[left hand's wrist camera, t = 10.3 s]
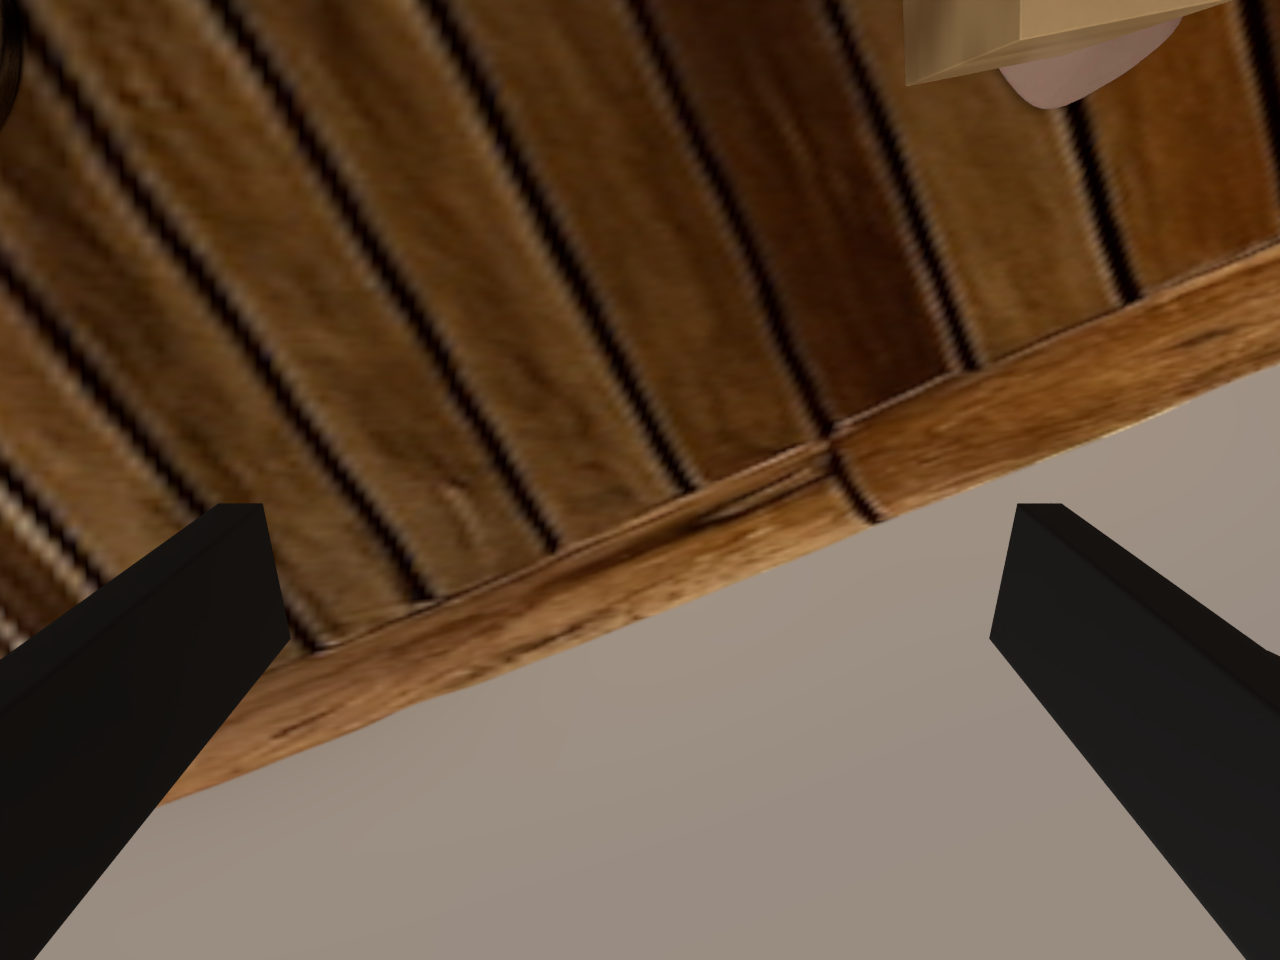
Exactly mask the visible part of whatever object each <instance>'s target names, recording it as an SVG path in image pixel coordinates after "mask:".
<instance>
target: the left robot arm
mask: <svg viewBox="0 0 1280 960" xmlns="http://www.w3.org/2000/svg"><path fill="white" fill-rule="evenodd" d="M18 72H19V36H18V26H17V21H16V15H15V9H14V5H13V1H12V0H0V129H1V127H2V125H3V124H4V122H5V119H6V117H7V115H8V113H9V111H10V108H11V105H12V102H13V99H14V95H15V91H16V86H17V81H18ZM290 639H291V638H290V633H289V628H288V623H287V618H286V614H285V609H284V604H283V599H282V594H281V590H280V585H279V580H278V575H277V570H276V566H275V561H274V556H273V551H272V546H271V542H270V537H269V532H268V527H267V522H266V518H265V513H264V508H263V504H217V505H216V506H214V507H213V508H212V509H210V510H209V511H207V512H206V513H205V514H203V515H202V516H200V517H199V518H198V519H196V520H195V521H193V522H192V523H191V524H189V525H188V526H186V527H185V528H184V529H182V530H181V531H179V532H178V533H177V534H175V535H174V536H172V537H171V538H170V539H168V540H167V541H166V542H164V543H163V544H161V545H160V546H159V547H157V548H156V549H154V550H153V551H152V552H150V553H149V554H147V555H146V556H145V557H143V558H142V559H140V560H139V561H138V562H136V563H135V564H133V565H132V566H131V567H129V568H128V569H126V570H125V571H124V572H122V573H121V574H119V575H118V576H117V577H115V578H114V579H112V580H111V581H110V582H108V583H107V584H105V585H104V586H103V587H101V588H100V589H98V590H97V591H96V592H94V593H93V594H92V595H90V596H89V597H87V598H86V599H85V600H83V601H82V602H80V603H79V604H78V605H76V606H75V607H73V608H72V609H71V610H69V611H68V612H66V613H65V614H64V615H62V616H61V617H59V618H58V619H57V620H55V621H54V622H52V623H51V624H50V625H48V626H47V627H45V628H44V629H43V630H41V631H40V632H38V633H37V634H36V635H34V636H33V637H31V638H30V639H29V640H27V641H26V642H24V643H23V644H22V645H20V646H19V647H17V648H16V649H15V650H13V651H12V652H11V653H9V654H8V655H6V656H5V657H4V658H2V659H0V960H34V959H35V958H36V956H37V955H38V954H39V953H40V951H41V950H42V949H43V948H44V946H45V945H46V944H47V943H48V941H49V940H50V939H51V938H52V936H53V935H54V934H55V933H56V931H57V930H58V929H59V928H60V926H61V925H62V924H63V923H64V921H65V920H66V919H67V918H68V916H69V915H70V914H71V913H72V911H73V910H74V909H75V908H76V906H77V905H78V904H79V903H80V901H81V900H82V899H83V898H84V896H85V895H86V894H87V893H88V891H89V890H90V889H91V888H92V886H93V885H94V884H95V883H96V881H97V880H98V879H99V878H100V876H101V875H102V874H103V873H104V871H105V870H106V869H107V868H108V866H109V865H110V864H111V863H112V861H113V860H114V859H115V858H116V856H117V855H118V854H119V853H120V851H121V850H122V849H123V848H124V846H125V845H126V844H127V843H128V841H129V840H130V839H131V838H132V836H133V835H134V834H135V833H136V831H137V830H138V829H139V828H140V826H141V825H142V824H143V823H144V821H145V820H146V819H147V818H148V816H149V815H150V814H151V813H152V811H153V810H154V809H155V808H156V806H157V805H158V804H159V803H160V801H161V800H162V799H163V798H164V796H165V795H166V794H167V793H168V791H169V790H170V789H171V788H172V786H173V785H174V784H175V783H176V781H177V780H178V779H179V778H180V776H181V775H182V774H183V773H184V771H185V770H186V769H187V768H188V766H189V765H190V764H191V763H192V761H193V760H194V759H195V758H196V756H197V755H198V754H199V753H200V751H201V750H202V749H203V748H204V746H205V745H206V744H207V743H208V741H209V740H210V739H211V738H212V736H213V735H214V734H215V733H216V731H217V730H218V729H219V728H220V726H221V725H222V724H223V723H224V721H225V720H226V719H227V718H228V716H229V715H230V714H231V713H232V711H233V710H234V709H235V708H236V706H237V705H238V704H239V703H240V701H241V700H242V699H243V698H244V696H245V695H246V694H247V693H248V691H249V690H250V689H251V688H252V686H253V685H254V684H255V683H256V681H257V680H258V679H259V678H260V676H261V675H262V674H263V673H264V671H265V670H266V669H267V668H268V666H269V665H270V664H271V663H272V661H273V660H274V659H275V658H276V656H277V655H278V654H279V653H280V651H281V650H282V649H283V648H284V646H285V645H286V644H287V642H288V641H289V640H290ZM989 639H990V640H991V641H992V643H993V644H994V645H995V646H996V648H997V649H998V650H999V651H1000V652H1001V654H1002V655H1003V656H1004V658H1005V659H1006V660H1007V661H1008V662H1009V664H1010V665H1011V666H1012V668H1013V669H1014V670H1015V671H1016V672H1017V674H1018V675H1019V676H1020V678H1021V679H1022V680H1023V681H1024V683H1025V684H1026V685H1027V686H1028V687H1029V689H1030V690H1031V691H1032V693H1033V694H1034V695H1035V696H1036V697H1037V699H1038V700H1039V701H1040V702H1041V704H1042V705H1043V706H1044V708H1045V709H1046V710H1047V711H1048V713H1049V714H1050V715H1051V716H1052V717H1053V719H1054V720H1055V721H1056V723H1057V724H1058V725H1059V726H1060V728H1061V729H1062V730H1063V731H1064V733H1065V734H1066V735H1067V736H1068V738H1069V739H1070V740H1071V741H1072V743H1073V744H1074V745H1075V746H1076V748H1077V749H1078V750H1079V751H1080V753H1081V754H1082V755H1083V756H1084V758H1085V759H1086V760H1087V761H1088V763H1089V764H1090V765H1091V766H1092V767H1093V769H1094V770H1095V771H1096V773H1097V774H1098V775H1099V776H1100V778H1101V779H1102V780H1103V781H1104V783H1105V784H1106V785H1107V786H1108V788H1109V789H1110V790H1111V791H1112V793H1113V794H1114V795H1115V796H1116V797H1117V799H1118V800H1119V801H1120V803H1121V804H1122V805H1123V806H1124V808H1125V809H1126V810H1127V811H1128V813H1129V814H1130V815H1131V816H1132V818H1133V819H1134V820H1135V821H1136V823H1137V824H1138V825H1139V826H1140V828H1141V829H1142V830H1143V831H1144V832H1145V834H1146V835H1147V836H1148V838H1149V839H1150V840H1151V841H1152V843H1153V844H1154V845H1155V846H1156V848H1157V849H1158V850H1159V851H1160V853H1161V854H1162V855H1163V856H1164V858H1165V859H1166V860H1167V861H1168V863H1169V864H1170V865H1171V866H1172V868H1173V869H1174V870H1175V871H1176V873H1177V874H1178V875H1179V876H1180V878H1181V879H1182V880H1183V881H1184V883H1185V884H1186V885H1187V886H1188V888H1189V889H1190V890H1191V891H1192V893H1193V894H1194V895H1195V896H1196V898H1197V899H1198V900H1199V901H1200V903H1201V904H1202V905H1203V906H1204V908H1205V909H1206V910H1207V911H1208V913H1209V914H1210V915H1211V916H1212V918H1213V919H1214V920H1215V921H1216V923H1217V924H1218V925H1219V926H1220V928H1221V929H1222V930H1223V931H1224V933H1225V934H1226V935H1227V936H1228V938H1229V939H1230V940H1231V941H1232V943H1233V944H1234V945H1235V946H1236V948H1237V949H1238V950H1239V951H1240V953H1241V954H1242V955H1243V956H1244V958H1245V959H1246V960H1280V656H1278V655H1276V654H1274V653H1272V652H1270V651H1267V650H1265V649H1264V648H1262V647H1261V646H1260V645H1258V644H1257V643H1256V642H1254V641H1253V640H1251V639H1250V638H1249V637H1247V636H1246V635H1244V634H1243V633H1242V632H1240V631H1239V630H1237V629H1236V628H1235V627H1233V626H1232V625H1230V624H1229V623H1227V622H1226V621H1225V620H1223V619H1222V618H1221V617H1219V616H1218V615H1216V614H1215V613H1214V612H1212V611H1211V610H1209V609H1208V608H1207V607H1205V606H1204V605H1202V604H1201V603H1200V602H1198V601H1197V600H1195V599H1194V598H1193V597H1191V596H1190V595H1188V594H1187V593H1186V592H1184V591H1183V590H1181V589H1180V588H1179V587H1177V586H1176V585H1174V584H1173V583H1172V582H1170V581H1169V580H1168V579H1166V578H1165V577H1163V576H1162V575H1160V574H1159V573H1158V572H1156V571H1155V570H1154V569H1152V568H1151V567H1149V566H1148V565H1147V564H1145V563H1144V562H1142V561H1141V560H1140V559H1138V558H1137V557H1135V556H1134V555H1133V554H1131V553H1130V552H1128V551H1127V550H1126V549H1124V548H1123V547H1121V546H1120V545H1119V544H1117V543H1116V542H1114V541H1113V540H1112V539H1110V538H1109V537H1108V536H1106V535H1105V534H1103V533H1102V532H1101V531H1099V530H1098V529H1096V528H1095V527H1093V526H1092V525H1091V524H1089V523H1088V522H1086V521H1085V520H1084V519H1082V518H1081V517H1080V516H1078V515H1077V514H1075V513H1074V512H1073V511H1071V510H1070V509H1068V508H1067V507H1065V506H1064V505H1063V504H1017V508H1016V513H1015V517H1014V522H1013V527H1012V532H1011V537H1010V542H1009V547H1008V551H1007V556H1006V561H1005V566H1004V570H1003V575H1002V580H1001V585H1000V590H999V595H998V599H997V604H996V609H995V614H994V618H993V623H992V628H991V633H990V638H989Z"/></svg>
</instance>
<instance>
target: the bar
mask: <svg viewBox="0 0 1280 960" xmlns="http://www.w3.org/2000/svg"><path fill="white" fill-rule="evenodd" d="M1228 1H1231V0H903V19H904V48H905V76H906V86H911V85H916V84H921V83H926V82H931V81H936V80H941V79H946V78H951V77H956V76H961V75H967V74H972V73H977V72H982V71H987V70H992V69H997V68H1002V67H1007V66H1012V65H1017V64H1022V63H1027V62H1032V61H1037V60H1043V59H1048V58H1053V57H1058V56H1063V55H1066V54H1069V53H1072V52H1075V51H1078V50H1081V49H1084V48H1087V47H1090V46H1093V45H1096V44H1099V43H1102V42H1106V41H1109V40H1112V39H1115V38H1118V37H1121V36H1124V35H1127V34H1130V33H1133V32H1136V31H1139V30H1142V29H1145V28H1149V27H1152V26H1155V25H1158V24H1161V23H1164V22H1167V21H1170V20H1173V19H1176V18H1179V17H1182V16H1185V15H1188V14H1192V13H1195V12H1198V11H1201V10H1204V9H1207V8H1210V7H1213V6H1216V5H1219V4H1222V3H1225V2H1228Z"/></svg>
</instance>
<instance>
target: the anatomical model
mask: <svg viewBox="0 0 1280 960" xmlns="http://www.w3.org/2000/svg"><path fill="white" fill-rule="evenodd" d="M1182 17H1183V16H1182ZM1182 17H1179V18H1176V19H1173V20H1170V21H1167V22H1164V23H1161V24H1158V25H1155V26H1152V27H1149V28H1145V29H1142V30H1139V31H1136V32H1133V33H1130V34H1127V35H1124V36H1121V37H1118V38H1115V39H1112V40H1109V41H1106V42H1102V43H1099V44H1096V45H1093V46H1090V47H1087V48H1084V49H1081V50H1078V51H1075V52H1072V53H1069V54H1066V55H1063V56H1058V57H1053V58H1048V59H1043V60H1037V61H1032V62H1027V63H1022V64H1017V65H1012V66H1007V67H1002V68H999V69H1000V71H1001V72H1002V74H1003V75H1004V77H1005V78H1006V80H1007V81H1008V82H1009V83H1010V85H1011V86H1012V87H1013V88H1014V89H1015V91H1016V92H1017V93H1018V94H1019V95H1020V96H1021V97H1022V98H1023V99H1024V100H1025V101H1027V102H1029V103H1030V104H1032V105H1033V106H1036V107H1038V108H1042V109H1054V108H1059V107H1062V106H1065V105H1068V104H1070V103H1072V102H1074V101H1076V100H1079V99H1081V98H1083V97H1085V96H1087V95H1088V94H1090V93H1092V92H1093V91H1095V90H1097V89H1099V88H1100V87H1102V86H1104V85H1106V84H1107V83H1109V82H1111V81H1112V80H1114V79H1116V78H1117V77H1119V76H1121V75H1122V74H1124V73H1125V72H1127V71H1128V70H1129V69H1131V68H1132V67H1134V66H1135V65H1136V64H1138V63H1139V62H1140V61H1141V60H1143V59H1144V58H1145V57H1146V56H1148V55H1149V54H1150V53H1151V52H1153V51H1154V50H1155V49H1156V48H1158V47H1159V46H1160V45H1161V44H1162V43H1163V42H1164V41H1165V40H1166V39H1167V38H1168V37H1169V36H1170V35H1171V34H1172V33H1173V31H1174V30H1175V29H1176V27H1177V26H1178V25H1179V23H1180V21H1181V19H1182Z"/></svg>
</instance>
